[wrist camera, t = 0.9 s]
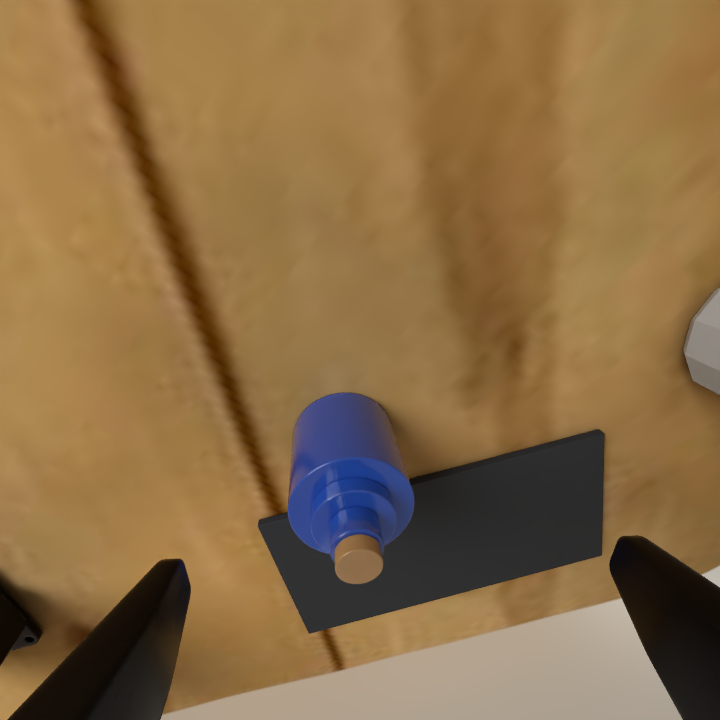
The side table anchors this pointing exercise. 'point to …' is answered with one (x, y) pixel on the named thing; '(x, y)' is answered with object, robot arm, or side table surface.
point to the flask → (348, 484)
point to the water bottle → (705, 344)
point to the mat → (461, 533)
